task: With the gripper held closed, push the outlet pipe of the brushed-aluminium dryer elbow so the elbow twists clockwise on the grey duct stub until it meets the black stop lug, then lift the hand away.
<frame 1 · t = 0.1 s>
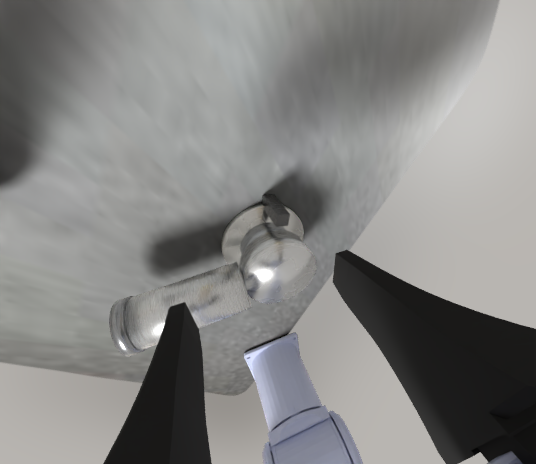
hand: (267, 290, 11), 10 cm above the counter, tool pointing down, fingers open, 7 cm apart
elbow: (226, 290, 18), point 4 cm above the counter, hinge at 0.0°
duct stub: (263, 240, 22), on the counter
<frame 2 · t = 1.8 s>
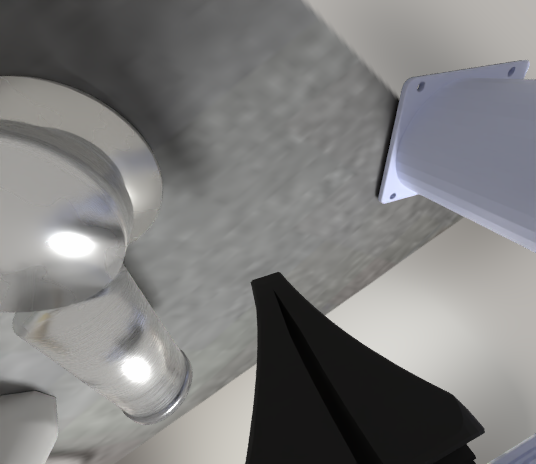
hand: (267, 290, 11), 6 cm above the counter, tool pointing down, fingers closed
salt shaker: (23, 402, 18), on the counter
elbow: (95, 314, 10), point 4 cm above the counter, hinge at 0.0°
duct stub: (68, 179, 11), on the counter
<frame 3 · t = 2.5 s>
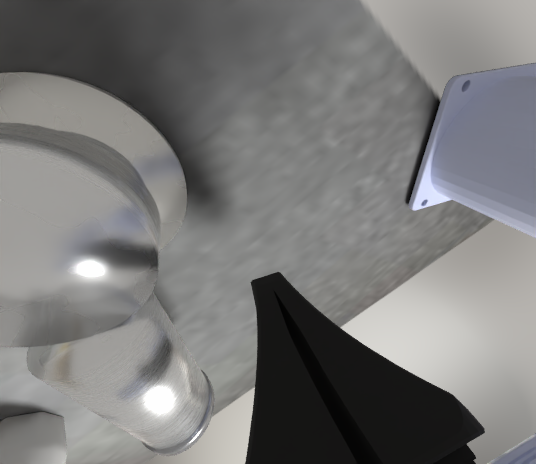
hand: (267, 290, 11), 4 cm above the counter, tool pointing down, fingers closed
salt shaker: (28, 423, 17), on the counter
elbow: (117, 341, 9), point 4 cm above the counter, hinge at 0.0°
duct stub: (84, 189, 10), on the counter
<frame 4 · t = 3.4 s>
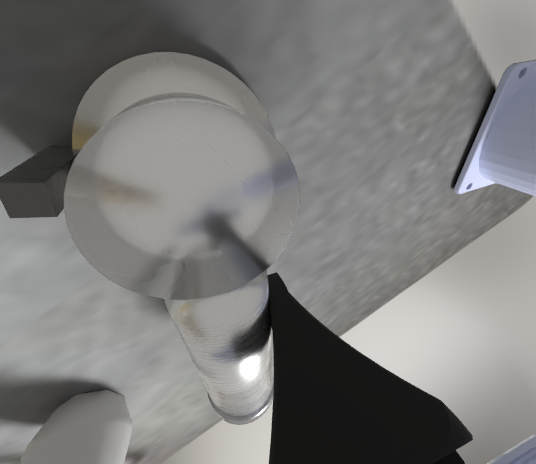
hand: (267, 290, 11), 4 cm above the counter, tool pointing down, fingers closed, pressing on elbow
salt shaker: (92, 402, 17), on the counter
elbow: (223, 306, 10), point 4 cm above the counter, hinge at 3.1°, touching gripper
duct stub: (189, 165, 10), on the counter
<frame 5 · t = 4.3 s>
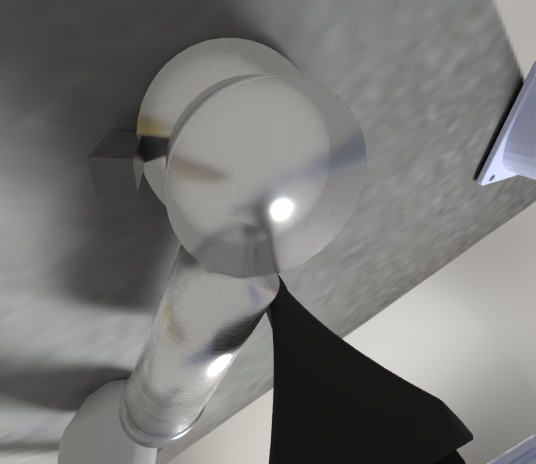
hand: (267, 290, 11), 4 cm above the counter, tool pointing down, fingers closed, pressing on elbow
salt shaker: (121, 390, 18), on the counter
elbow: (218, 293, 9), point 4 cm above the counter, hinge at 33.7°, touching gripper
duct stub: (237, 152, 11), on the counter
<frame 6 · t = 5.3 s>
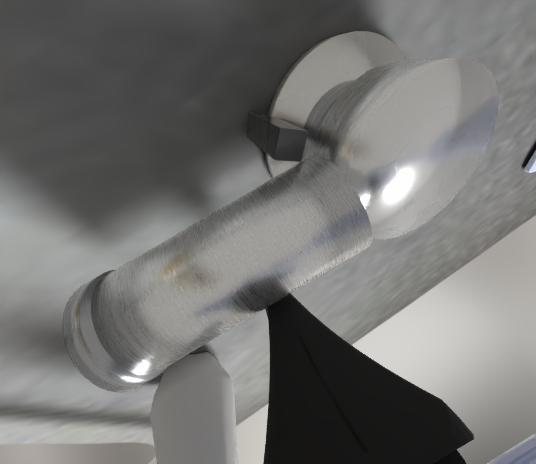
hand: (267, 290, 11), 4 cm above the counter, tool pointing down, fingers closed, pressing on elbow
salt shaker: (191, 364, 19), on the counter
elbow: (300, 223, 8), point 4 cm above the counter, hinge at 71.7°, touching duct stub, gripper
duct stub: (338, 135, 12), on the counter
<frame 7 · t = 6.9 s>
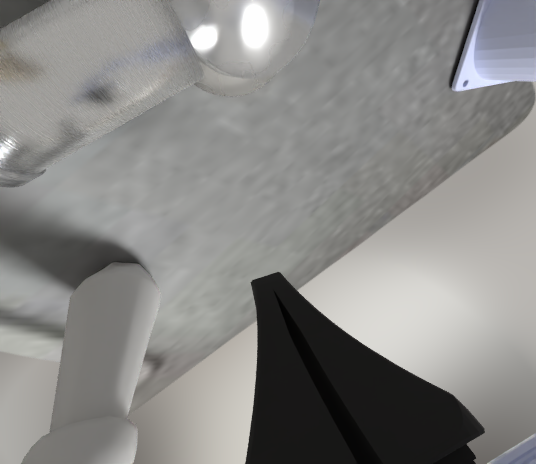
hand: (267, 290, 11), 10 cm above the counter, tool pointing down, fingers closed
salt shaker: (124, 278, 20), on the counter
elbow: (142, 43, 9), point 4 cm above the counter, hinge at 71.7°, touching duct stub
duct stub: (224, 8, 12), on the counter
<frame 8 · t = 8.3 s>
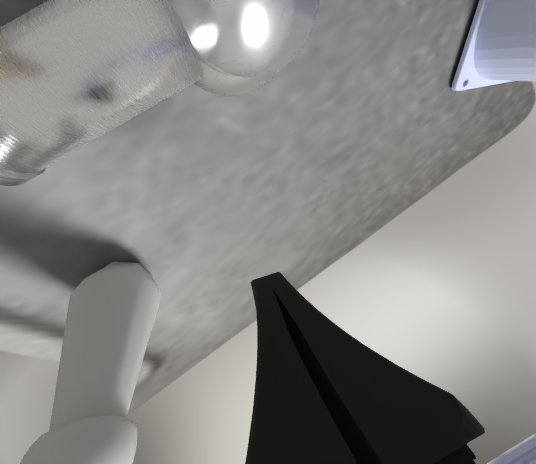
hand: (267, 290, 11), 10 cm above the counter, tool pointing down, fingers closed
salt shaker: (124, 277, 20), on the counter
elbow: (142, 41, 9), point 4 cm above the counter, hinge at 71.7°, touching duct stub
duct stub: (224, 8, 12), on the counter
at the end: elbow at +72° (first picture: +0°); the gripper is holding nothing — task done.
